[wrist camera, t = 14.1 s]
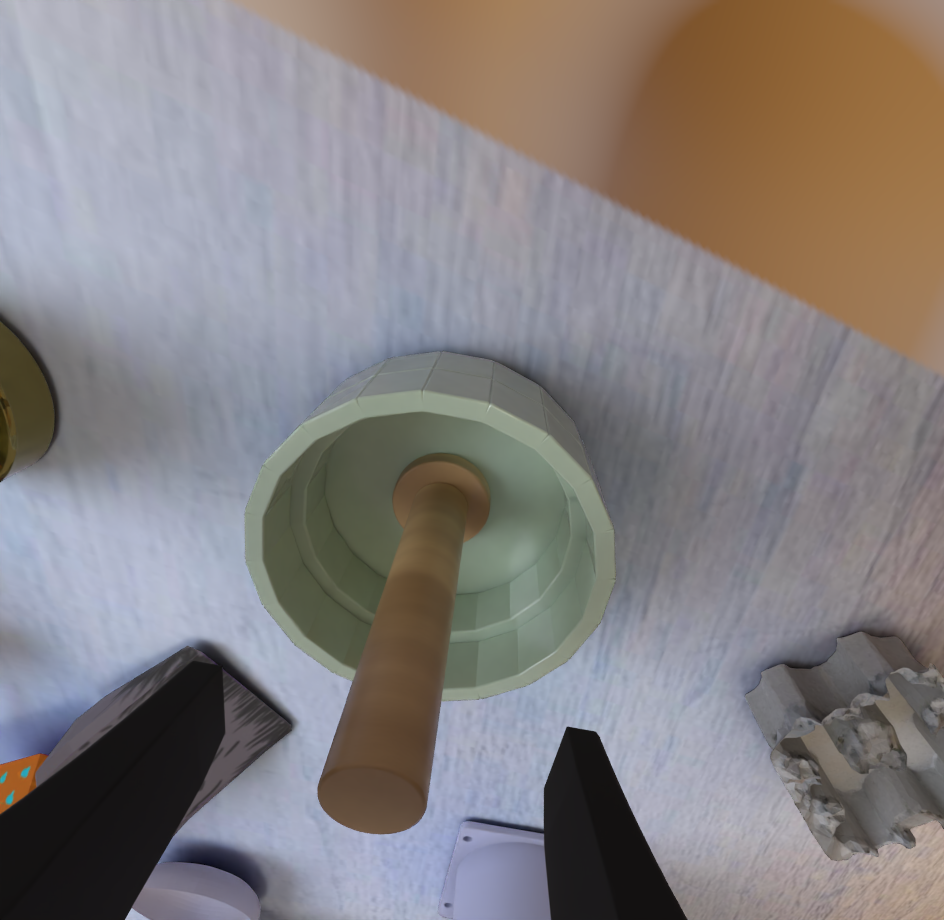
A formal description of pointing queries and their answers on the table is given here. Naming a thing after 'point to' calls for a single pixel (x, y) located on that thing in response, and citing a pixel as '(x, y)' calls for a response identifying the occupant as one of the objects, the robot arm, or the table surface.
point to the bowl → (378, 531)
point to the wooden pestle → (405, 654)
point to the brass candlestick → (22, 407)
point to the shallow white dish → (196, 894)
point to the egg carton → (858, 743)
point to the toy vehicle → (244, 712)
